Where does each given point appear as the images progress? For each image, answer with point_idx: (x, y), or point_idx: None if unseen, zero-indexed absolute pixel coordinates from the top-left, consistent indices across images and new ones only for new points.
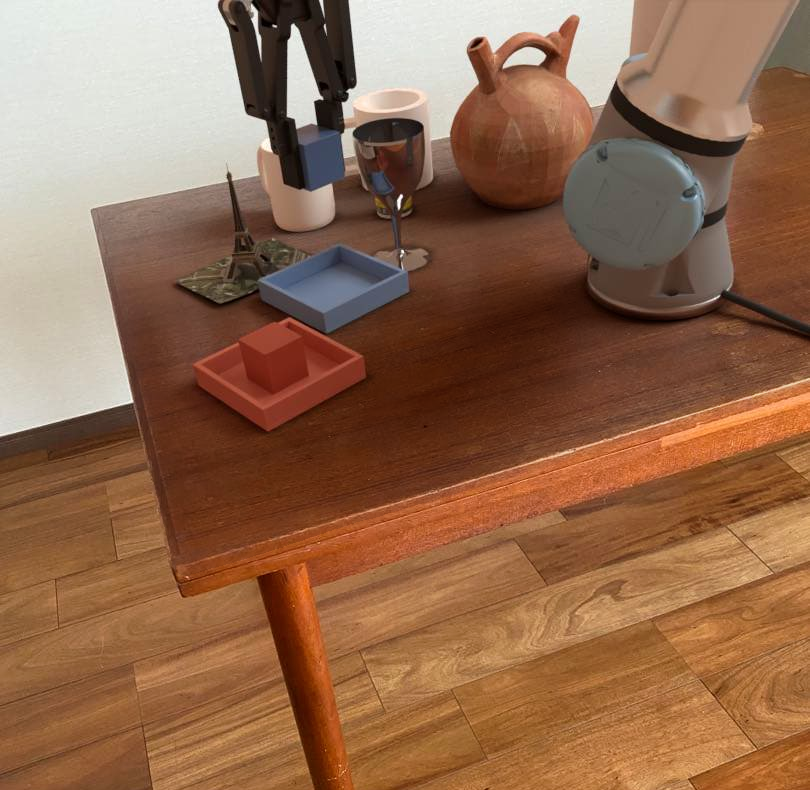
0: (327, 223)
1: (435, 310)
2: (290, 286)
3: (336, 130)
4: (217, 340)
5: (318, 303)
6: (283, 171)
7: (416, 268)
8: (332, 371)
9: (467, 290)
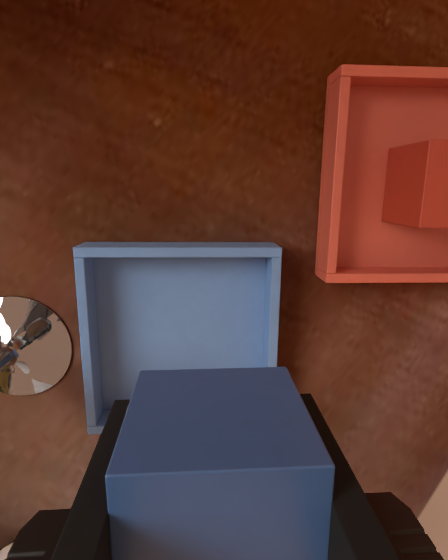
0: None
1: (96, 153)
2: None
3: (94, 509)
4: (387, 359)
5: (224, 323)
6: None
7: (18, 297)
8: (409, 69)
9: (4, 160)
